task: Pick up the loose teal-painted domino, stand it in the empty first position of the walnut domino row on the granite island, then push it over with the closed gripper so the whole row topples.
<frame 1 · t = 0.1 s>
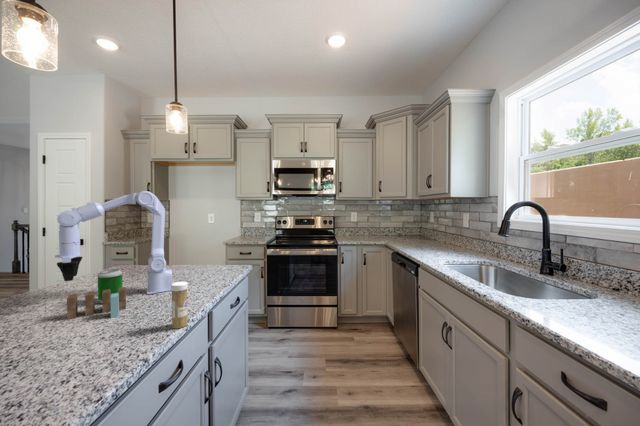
hand: (70, 278, 98), 10 cm above the countertop, tool pointing down, fingers open, 7 cm apart
sprinkles bottle: (179, 326, 81), on the countertop
domino 2: (122, 307, 96), on the countertop
domino 3: (106, 310, 93), on the countertop
loose domino: (115, 315, 89), on the countertop
domino 5: (72, 316, 88), on the countertop
soda can: (110, 301, 103), on the countertop
domino 4: (90, 313, 91), on the countertop
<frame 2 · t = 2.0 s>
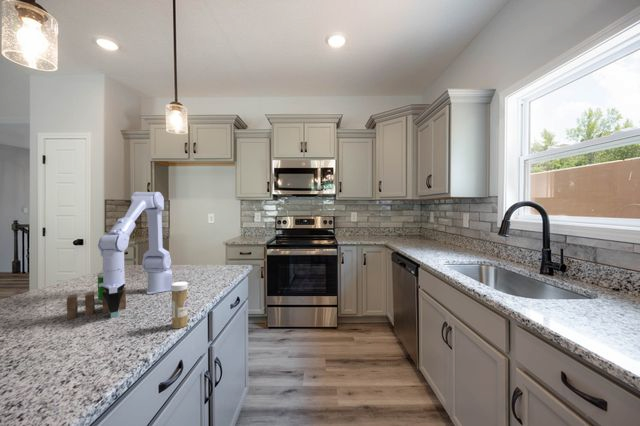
hand: (114, 308, 89), 2 cm above the countertop, tool pointing down, fingers open, 6 cm apart
domino 2: (122, 307, 96), on the countertop, touching gripper
domino 3: (106, 310, 93), on the countertop, touching gripper
everything else where it was.
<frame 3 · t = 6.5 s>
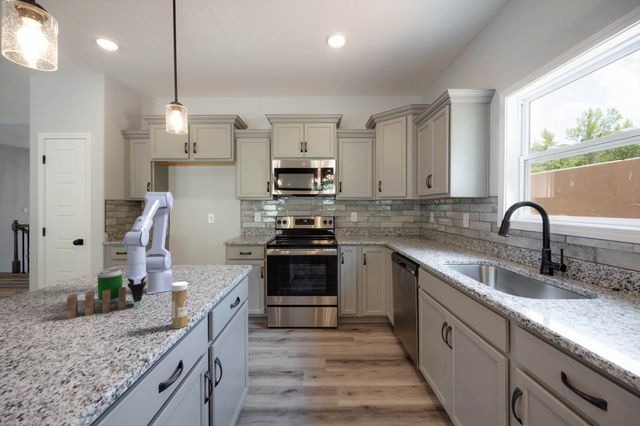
hand: (137, 298, 99), 2 cm above the countertop, tool pointing down, fingers open, 7 cm apart
domino 2: (122, 307, 96), on the countertop
domino 3: (106, 310, 93), on the countertop
loose domino: (137, 304, 99), on the countertop
everything else where it was.
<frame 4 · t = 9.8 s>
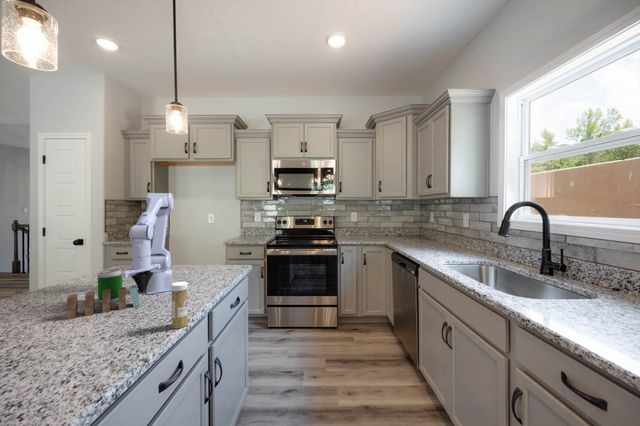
hand: (142, 291, 99), 5 cm above the countertop, tool pointing down, fingers closed
loose domino: (137, 304, 99), on the countertop, tilted 10°
everything else where it was.
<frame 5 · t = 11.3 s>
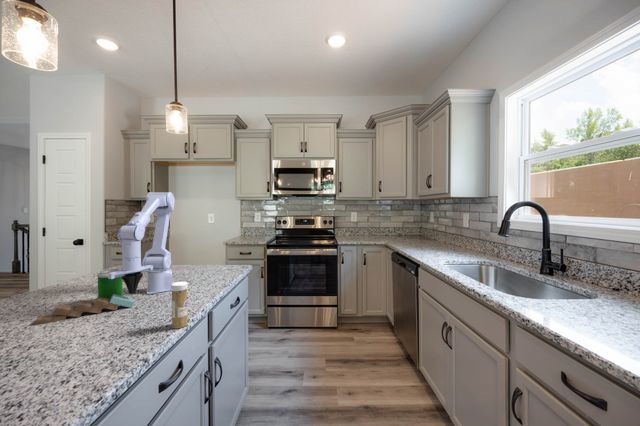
hand: (132, 293, 98), 5 cm above the countertop, tool pointing down, fingers closed
domino 2: (118, 305, 95), point 1 cm above the countertop, tilted 64°, touching domino 3, loose domino
domino 3: (102, 308, 93), point 1 cm above the countertop, tilted 66°, touching domino 2, domino 4
loose domino: (132, 303, 98), point 1 cm above the countertop, tilted 63°, touching domino 2
domino 5: (67, 316, 87), on the countertop, tilted 90°, touching domino 4
domino 4: (82, 312, 90), point 1 cm above the countertop, tilted 69°, touching domino 3, domino 5
everything else where it was.
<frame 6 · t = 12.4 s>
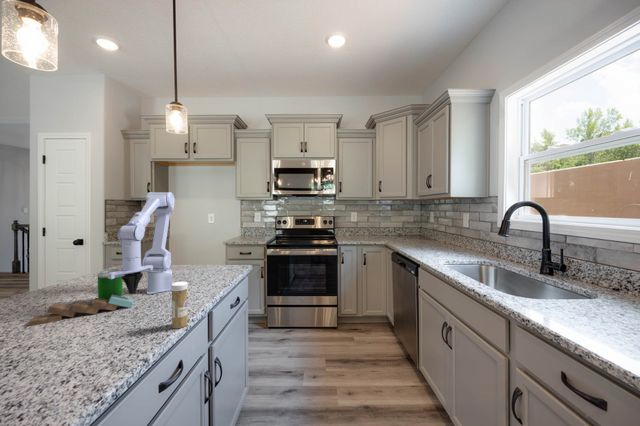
hand: (132, 293, 98), 5 cm above the countertop, tool pointing down, fingers closed
domino 3: (98, 309, 92), point 1 cm above the countertop, tilted 68°, touching domino 2
domino 5: (62, 316, 87), on the countertop, tilted 90°
domino 4: (76, 312, 89), point 1 cm above the countertop, tilted 67°
everything else where it was.
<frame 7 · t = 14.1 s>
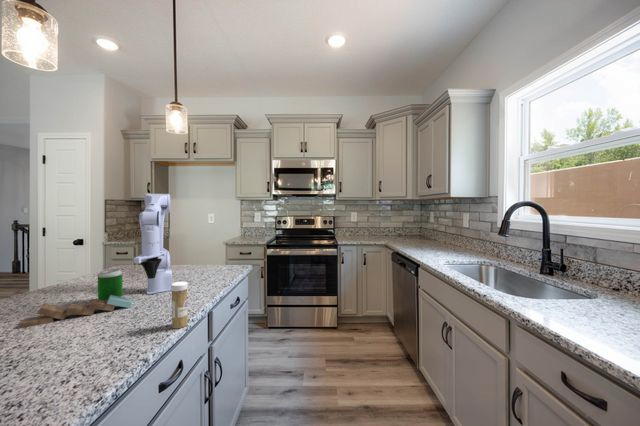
hand: (151, 278, 99), 10 cm above the countertop, tool pointing down, fingers closed
domino 3: (94, 310, 91), point 1 cm above the countertop, tilted 73°, touching domino 2, domino 4
domino 5: (54, 318, 85), on the countertop, tilted 90°, touching domino 4
domino 4: (66, 314, 87), point 1 cm above the countertop, tilted 59°, touching domino 3, domino 5
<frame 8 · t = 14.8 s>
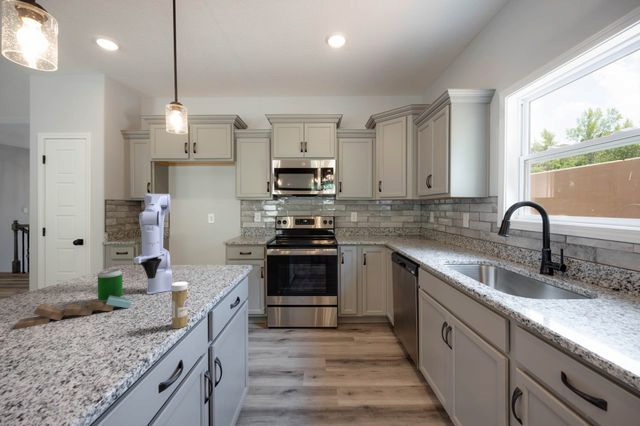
hand: (151, 278, 99), 10 cm above the countertop, tool pointing down, fingers closed
domino 3: (92, 310, 91), point 1 cm above the countertop, tilted 75°, touching domino 2
loose domino: (129, 303, 97), point 1 cm above the countertop, tilted 66°, touching domino 2
domino 5: (50, 319, 85), point 1 cm above the countertop, tilted 90°
domino 4: (63, 315, 87), point 1 cm above the countertop, tilted 58°
at the end: domino 5 tilted 90°; loose domino tilted 66° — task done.
